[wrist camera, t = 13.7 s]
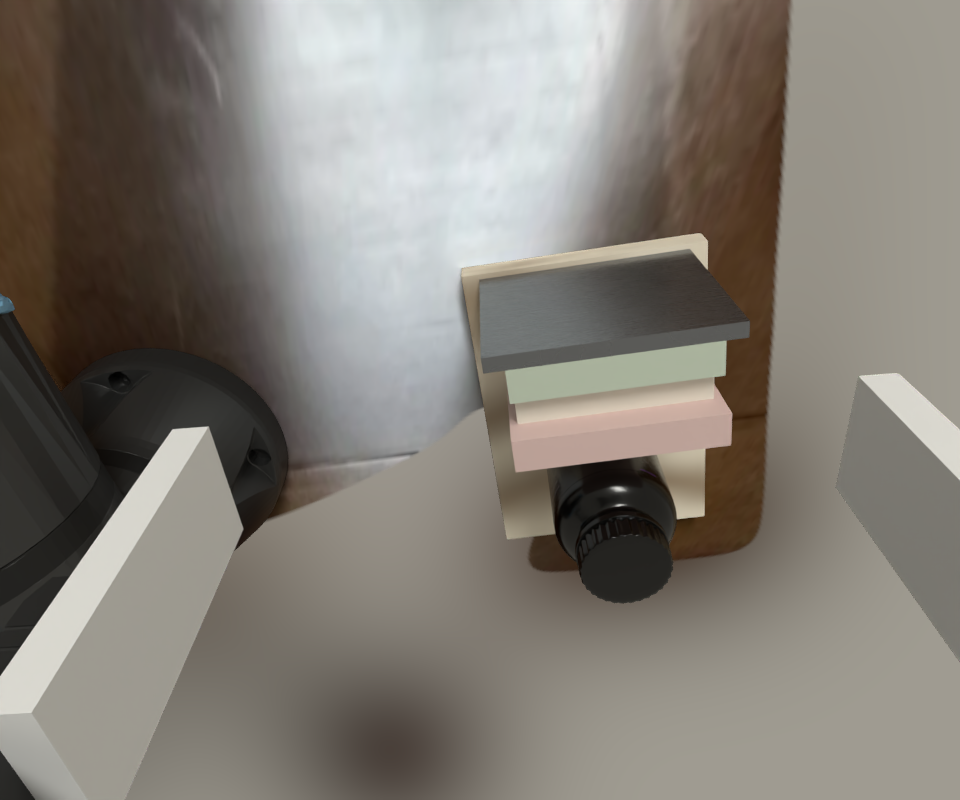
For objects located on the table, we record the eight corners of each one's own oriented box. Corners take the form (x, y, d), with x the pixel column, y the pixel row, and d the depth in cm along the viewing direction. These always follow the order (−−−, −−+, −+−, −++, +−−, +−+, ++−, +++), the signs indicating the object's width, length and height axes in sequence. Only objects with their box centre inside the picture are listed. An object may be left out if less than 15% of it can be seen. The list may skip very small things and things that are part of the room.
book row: (676, 348, 43) (731, 445, 34) (507, 371, 44) (515, 472, 34) (675, 264, 40) (734, 344, 31) (494, 290, 41) (500, 376, 32)
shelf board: (698, 502, 51) (704, 516, 49) (505, 525, 52) (506, 539, 50) (700, 232, 41) (707, 241, 39) (461, 268, 42) (461, 277, 40)
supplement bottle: (644, 388, 44) (696, 510, 34) (649, 475, 48) (698, 610, 37) (535, 404, 45) (554, 529, 34) (548, 489, 48) (568, 626, 38)
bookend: (689, 262, 40) (748, 337, 31) (481, 292, 41) (483, 373, 32) (689, 248, 40) (749, 321, 31) (479, 279, 40) (480, 358, 32)
